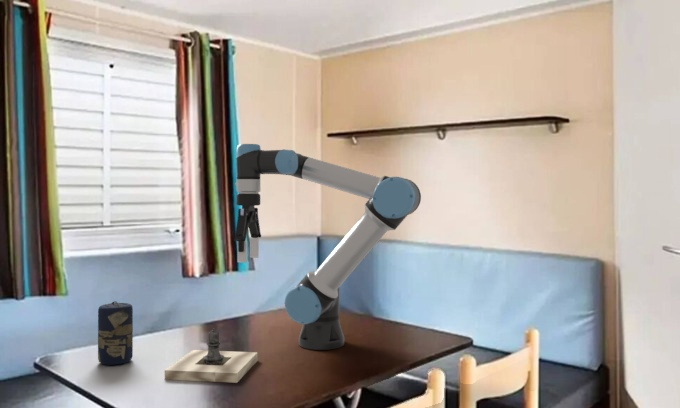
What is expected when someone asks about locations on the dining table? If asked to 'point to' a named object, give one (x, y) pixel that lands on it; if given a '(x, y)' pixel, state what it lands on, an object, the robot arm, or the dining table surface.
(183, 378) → the socket
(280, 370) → the dining table surface
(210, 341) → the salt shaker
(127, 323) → the canister
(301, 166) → the robot arm
